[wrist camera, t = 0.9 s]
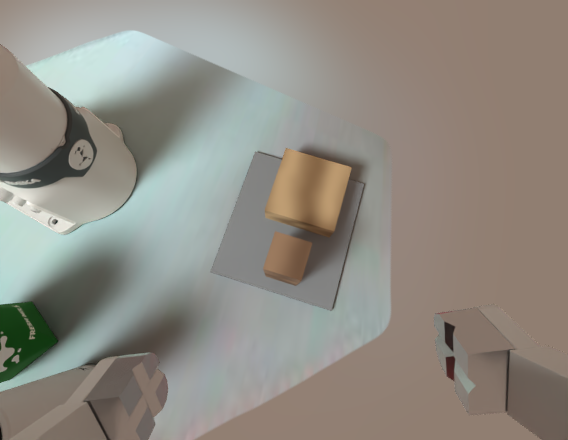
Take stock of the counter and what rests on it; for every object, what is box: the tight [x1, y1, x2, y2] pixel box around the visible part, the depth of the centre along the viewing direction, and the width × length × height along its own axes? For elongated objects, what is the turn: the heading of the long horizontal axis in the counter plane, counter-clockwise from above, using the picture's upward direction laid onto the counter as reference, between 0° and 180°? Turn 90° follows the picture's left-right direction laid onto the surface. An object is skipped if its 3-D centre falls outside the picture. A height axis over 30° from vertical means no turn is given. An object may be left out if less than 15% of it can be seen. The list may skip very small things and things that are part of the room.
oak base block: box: [265, 148, 352, 237], centre depth 45 cm, size 10×10×4 cm
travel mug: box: [0, 364, 96, 440], centre depth 30 cm, size 6×7×20 cm
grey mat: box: [210, 152, 364, 311], centre depth 46 cm, size 18×20×1 cm
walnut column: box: [263, 231, 312, 286], centre depth 39 cm, size 4×4×10 cm
